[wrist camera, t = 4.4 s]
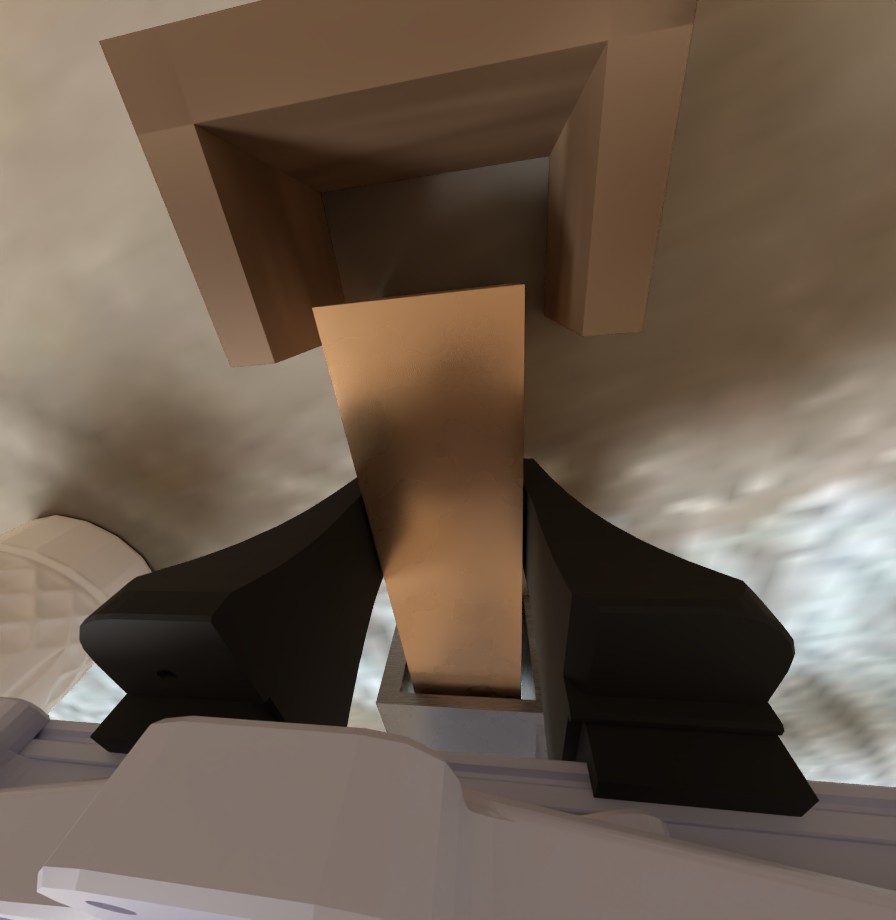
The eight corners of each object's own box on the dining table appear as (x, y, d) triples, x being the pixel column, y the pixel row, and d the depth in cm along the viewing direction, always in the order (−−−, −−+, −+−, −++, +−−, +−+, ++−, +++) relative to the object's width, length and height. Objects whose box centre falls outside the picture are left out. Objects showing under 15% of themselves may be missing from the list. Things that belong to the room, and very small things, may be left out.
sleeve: (535, 699, 20) (549, 813, 15) (427, 693, 20) (412, 799, 16) (540, 596, 15) (561, 714, 11) (404, 594, 16) (375, 702, 12)
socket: (579, 311, 10) (641, 331, 6) (322, 336, 11) (231, 367, 7) (596, 90, 7) (716, -115, 4) (273, 150, 9) (98, 41, 5)
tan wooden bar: (513, 637, 17) (520, 732, 13) (436, 635, 17) (423, 725, 14) (509, 283, 9) (524, 284, 6) (373, 298, 10) (312, 308, 6)
